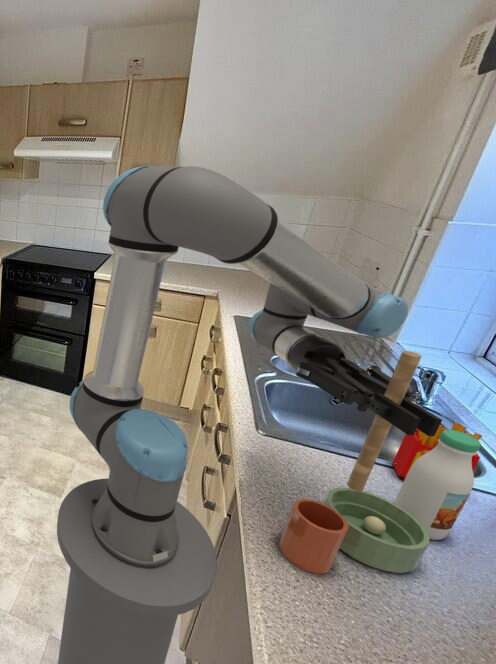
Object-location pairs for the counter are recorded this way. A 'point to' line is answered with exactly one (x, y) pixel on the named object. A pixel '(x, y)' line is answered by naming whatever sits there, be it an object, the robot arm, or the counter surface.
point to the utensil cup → (313, 535)
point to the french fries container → (423, 448)
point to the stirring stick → (383, 420)
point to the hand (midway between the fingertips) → (424, 427)
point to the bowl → (384, 549)
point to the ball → (374, 525)
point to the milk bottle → (440, 483)
